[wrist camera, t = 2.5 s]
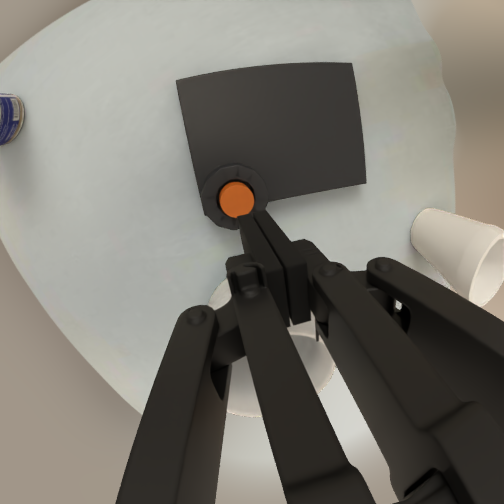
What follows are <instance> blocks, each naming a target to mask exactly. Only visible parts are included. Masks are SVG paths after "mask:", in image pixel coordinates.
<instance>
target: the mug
mask: <svg viewBox="0 0 504 504" xmlns="http://www.w3.org/2000/svg"><path fill="white" fill-rule="evenodd" d="M230 298H231V291H230V287H229V284H228V280H227V279H225V280H224V281H223V282H222V283H220V285H219V286H218V287H217V288H216V289H215V292H214V293H213V294H212V297H211V299H210V300H209V304H208V306H210V307H212V308H213V309H214V310H216V309H218V308H220V307H222V306H224V305H225V304H226V303H227V302H228V301H229V300H230ZM289 318H290V317H289ZM290 326H291V327H287V329H288V331H289V333H290V336H291V338H292V340H293V342H294V344H295V347H296V349H297V351H298V353H299V355H300V357H301V360H302V362H303V364H304V366H305V368H306V370H307V373H308V375H309V377H310V379H311V381H312V384H313V386H314V388H315V390H316V392H317V394H318V393H319V392H320V391H321V390H322V389H323V388H324V387H325V386H326V385H327V383H328V382H329V380H330V379H331V377H332V375H333V372H334V370H335V362H334V361H333V359H332V357H331V355H330V353H329V351H328V349H327V348H326V346H325V344H324V342H323V340H322V338H321V337H320V335H319V341H318V342H316V334H315V317H314V315H313V313H312V311H311V321H308V322H305V323H301V324H298V325H294V326H293V324H292V322H291V319H290ZM227 412H228V413H231V414H234V415H239V416H246V417H262V413H261V410H260V406H259V402H258V399H257V395H256V391H255V387H254V384H253V380H252V376H251V372H250V368H249V364H248V360H247V357H246V356H245V357H243V358H241V359H239V360H237V361H235V362H233V363H232V374H231V381H230V389H229V397H228V404H227Z"/></svg>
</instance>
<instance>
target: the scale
mask: <svg viewBox="0 0 504 504" xmlns="http://www.w3.org/2000/svg"><path fill="white" fill-rule="evenodd" d="M176 85H177V90H178V95H179V100H180V105H181V110H182V115H183V120H184V125H185V130H186V135H187V139H188V144H189V149H190V153H191V158H192V162H193V167H194V171H195V176H196V180H197V185H198V189H199V193H200V197H201V202H202V206H203V210H204V214H205V216H208V217H209V218H210V219H211V220H212V221H213V222H214V223H215V224H216V225H217V226H219V227H223V228H227V229H230V230H237V229H239V224H238V219H237V218H234V217H230V216H228V215H227V214H226V213H224V211H223V210H222V208H221V205H220V201H219V195H220V192H221V190H222V188H223V187H224V186H225V185H227V184H229V183H231V182H240V183H243V184H245V185H246V186H247V187H248V188H249V189H250V191H251V192H252V194H253V196H254V205H253V208H252V210H251V211H250V212H249V213H250V214H251V215H252V217H253V213H254V212H258V211H263V210H265V209H266V206H267V203H268V202H270V201H275V200H280V199H285V198H289V197H294V196H300V195H305V194H310V193H315V192H320V191H326V190H331V189H337V188H342V187H348V186H354V185H360V184H366V167H365V154H364V143H363V133H362V124H361V116H360V109H359V102H358V95H357V89H356V83H355V77H354V71H353V66H352V63H335V62H313V63H288V64H274V65H263V66H253V67H245V68H238V69H231V70H225V71H219V72H213V73H208V74H202V75H198V76H193V77H188V78H184V79H180V80H176ZM249 213H248V214H249Z"/></svg>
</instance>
